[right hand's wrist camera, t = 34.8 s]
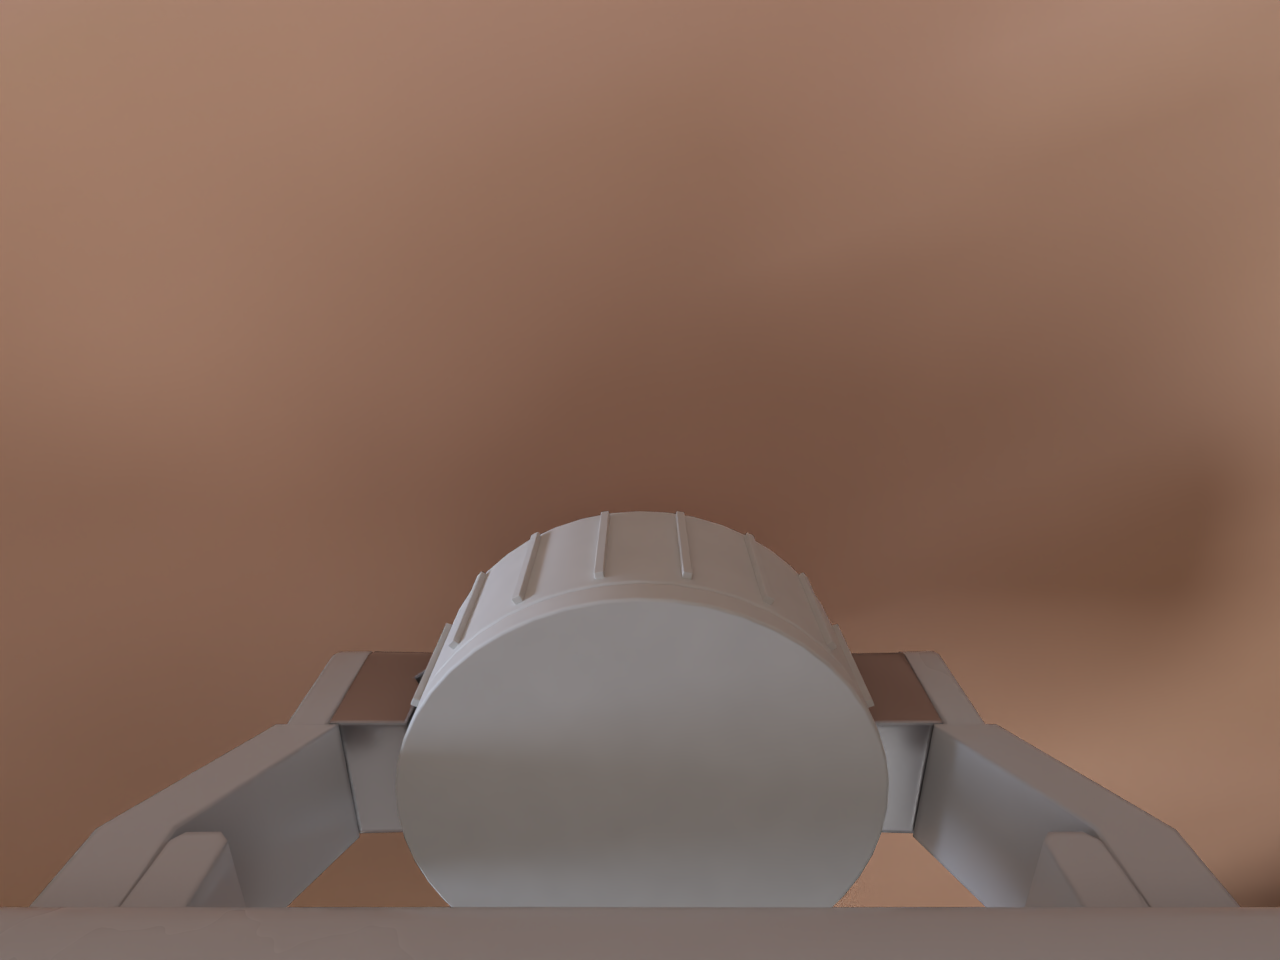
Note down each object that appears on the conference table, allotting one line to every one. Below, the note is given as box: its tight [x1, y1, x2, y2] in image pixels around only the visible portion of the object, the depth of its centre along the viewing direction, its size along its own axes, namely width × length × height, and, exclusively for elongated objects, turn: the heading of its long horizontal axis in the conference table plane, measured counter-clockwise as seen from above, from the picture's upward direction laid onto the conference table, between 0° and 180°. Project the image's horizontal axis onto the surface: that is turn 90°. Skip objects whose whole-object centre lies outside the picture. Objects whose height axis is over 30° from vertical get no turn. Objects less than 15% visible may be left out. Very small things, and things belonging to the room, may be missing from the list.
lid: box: [396, 511, 889, 907], centre depth 10 cm, size 6×6×2 cm
